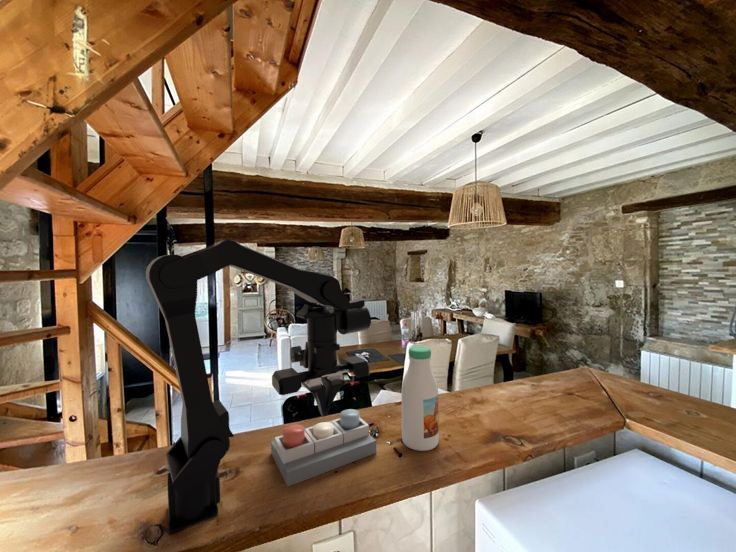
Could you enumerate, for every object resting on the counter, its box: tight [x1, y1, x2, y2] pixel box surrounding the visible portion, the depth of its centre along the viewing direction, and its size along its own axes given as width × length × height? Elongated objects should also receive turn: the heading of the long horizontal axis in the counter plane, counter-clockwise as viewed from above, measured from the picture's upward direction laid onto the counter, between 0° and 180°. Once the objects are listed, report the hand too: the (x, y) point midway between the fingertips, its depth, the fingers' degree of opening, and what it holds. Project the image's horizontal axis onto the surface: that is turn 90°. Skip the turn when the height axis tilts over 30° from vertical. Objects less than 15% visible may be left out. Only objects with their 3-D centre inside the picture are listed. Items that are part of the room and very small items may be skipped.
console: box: [270, 417, 377, 487], centre depth 63 cm, size 18×11×4 cm, turn 121°
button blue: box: [339, 408, 361, 430], centre depth 66 cm, size 4×4×2 cm
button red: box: [282, 424, 305, 449], centre depth 60 cm, size 4×4×2 cm
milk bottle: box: [401, 345, 440, 452], centre depth 66 cm, size 8×8×20 cm
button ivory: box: [313, 421, 334, 440], centre depth 63 cm, size 4×4×2 cm
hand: (323, 415), depth 63 cm, fingers closed
